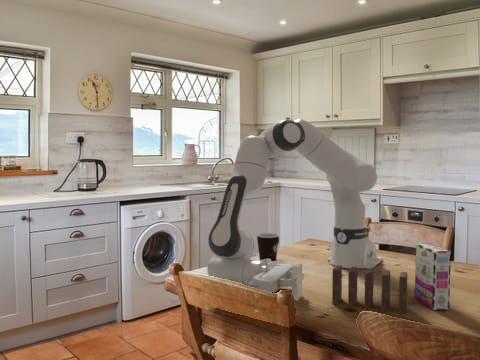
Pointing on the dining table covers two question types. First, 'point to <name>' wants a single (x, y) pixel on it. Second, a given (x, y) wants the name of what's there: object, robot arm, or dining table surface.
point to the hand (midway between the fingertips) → (300, 280)
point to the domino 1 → (337, 284)
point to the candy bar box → (432, 276)
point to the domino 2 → (352, 286)
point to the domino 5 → (403, 292)
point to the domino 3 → (369, 288)
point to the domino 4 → (385, 290)
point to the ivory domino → (298, 276)
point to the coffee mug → (268, 246)
